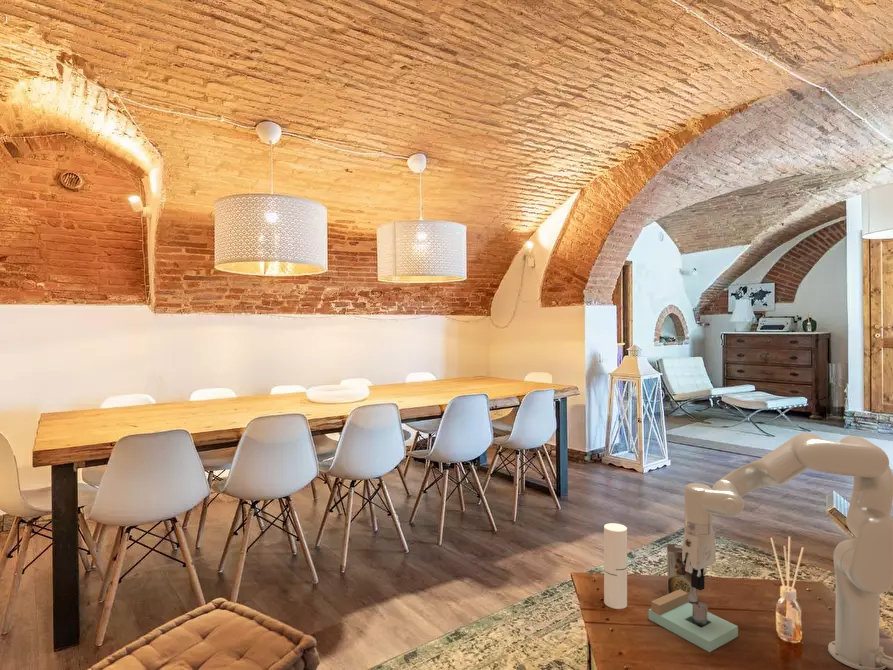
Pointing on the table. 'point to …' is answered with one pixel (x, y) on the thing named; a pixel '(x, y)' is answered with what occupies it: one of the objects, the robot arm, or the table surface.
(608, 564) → the cylindrical container
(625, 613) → the table surface
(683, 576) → the coffee box
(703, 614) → the grey upright block
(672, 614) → the jig
